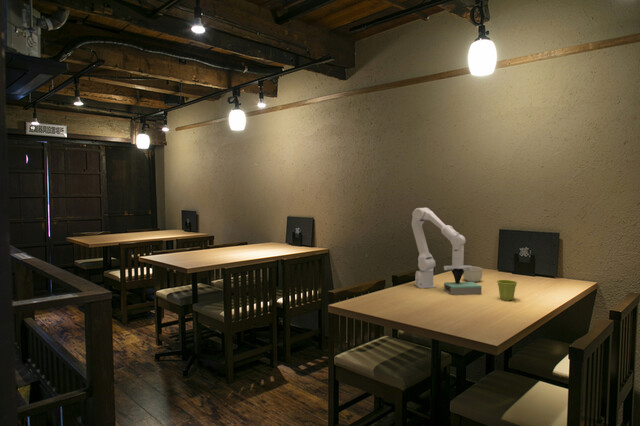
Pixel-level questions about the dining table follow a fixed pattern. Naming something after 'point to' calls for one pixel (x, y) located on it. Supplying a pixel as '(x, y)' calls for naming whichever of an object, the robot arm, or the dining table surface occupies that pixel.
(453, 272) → the robot arm
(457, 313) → the dining table surface
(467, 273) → the teacup
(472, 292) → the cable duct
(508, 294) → the plant pot
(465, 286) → the lid
